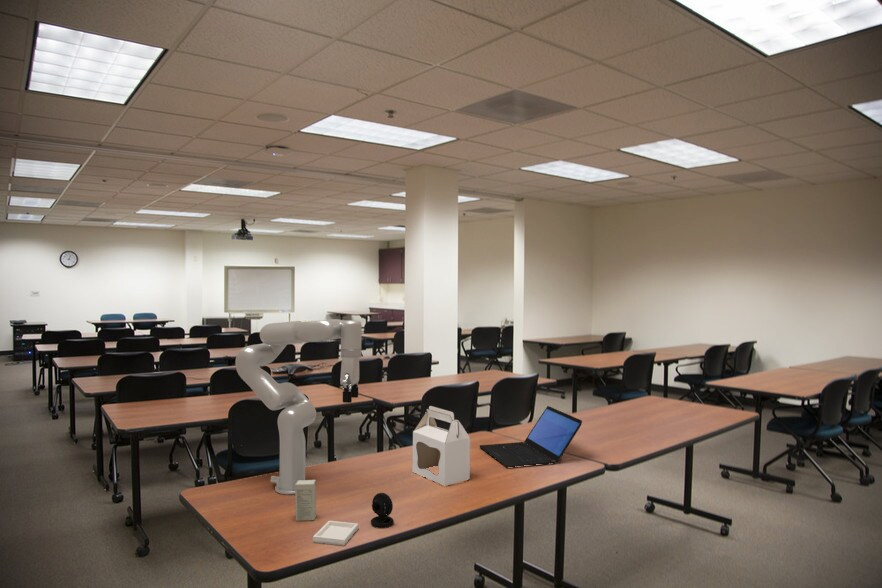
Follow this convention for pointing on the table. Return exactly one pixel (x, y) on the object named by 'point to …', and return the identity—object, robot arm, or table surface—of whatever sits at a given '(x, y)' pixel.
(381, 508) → the webcam
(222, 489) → the table surface
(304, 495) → the skincare box
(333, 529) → the tray
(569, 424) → the laptop
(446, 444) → the gable box
